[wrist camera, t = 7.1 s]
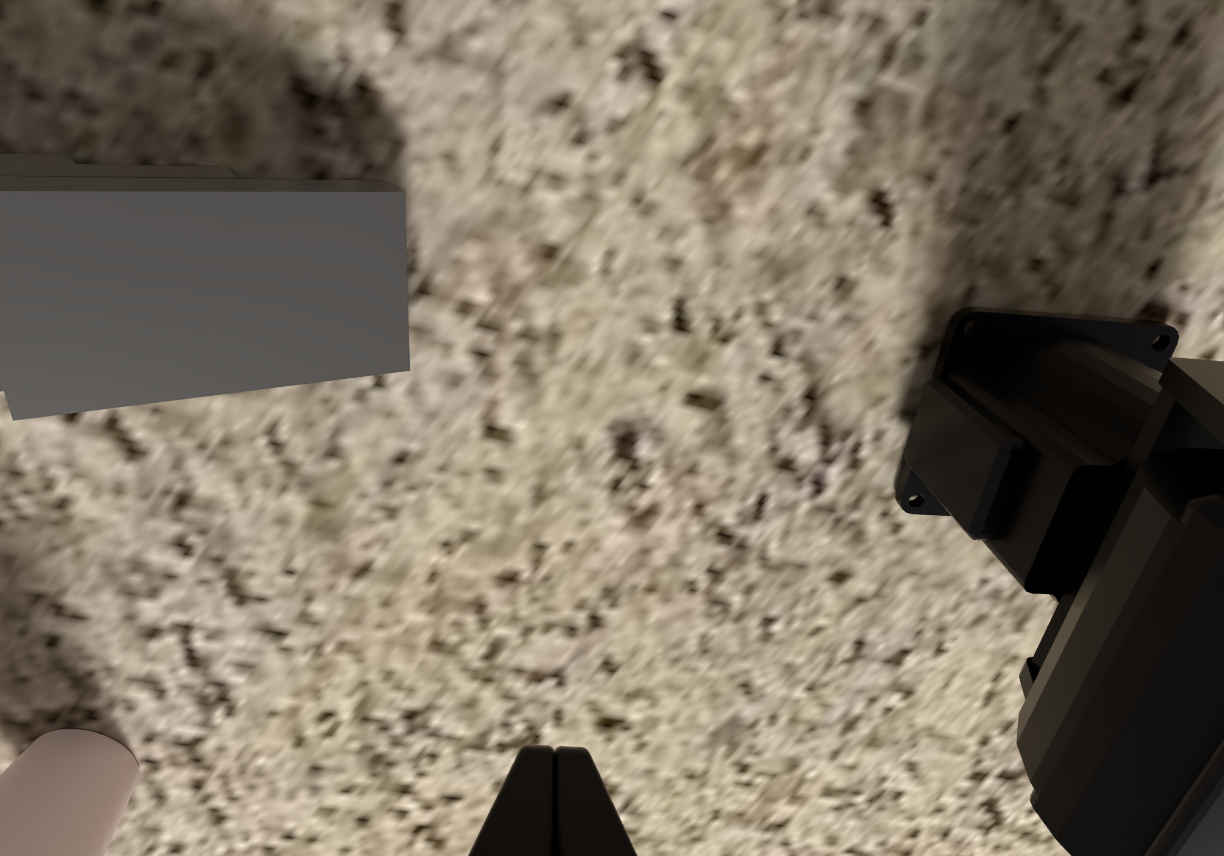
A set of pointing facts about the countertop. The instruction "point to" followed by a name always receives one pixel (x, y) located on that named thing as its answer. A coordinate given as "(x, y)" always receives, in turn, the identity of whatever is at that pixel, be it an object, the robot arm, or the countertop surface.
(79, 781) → the smoothie
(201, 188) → the tile
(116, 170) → the tile
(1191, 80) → the countertop surface
